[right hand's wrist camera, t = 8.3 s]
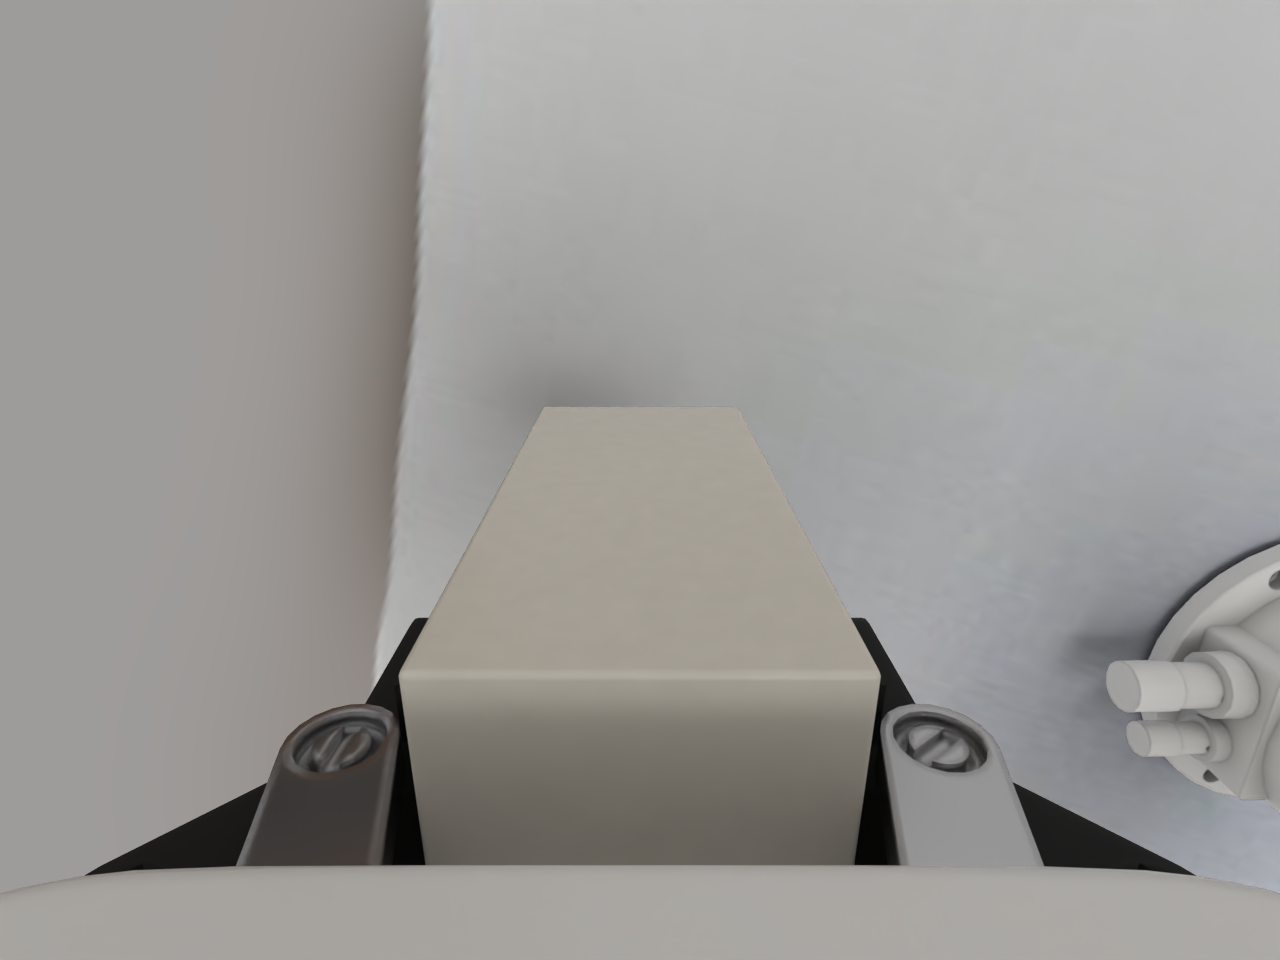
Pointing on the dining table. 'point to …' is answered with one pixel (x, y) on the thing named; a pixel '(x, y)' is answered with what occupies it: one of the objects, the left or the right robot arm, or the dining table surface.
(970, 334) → the dining table surface
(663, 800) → the block
